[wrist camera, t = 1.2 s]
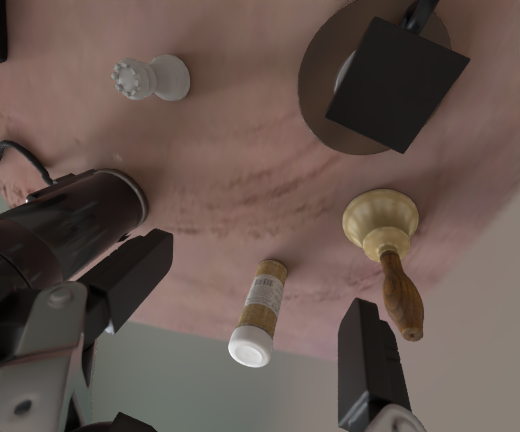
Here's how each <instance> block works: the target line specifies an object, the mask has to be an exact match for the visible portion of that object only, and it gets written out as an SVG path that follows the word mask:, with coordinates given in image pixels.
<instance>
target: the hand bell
mask: <svg viewBox="0 0 520 432" xmlns="http://www.w3.org/2000/svg"><path fill="white" fill-rule="evenodd" d="M418 222H419V213H418V210H417V207H416V205H415V204H414V202H413V201H412V200H411V199H410V198H409V197H407V196H406V195H404V194H403V193H400V192H398V191H395V190H389V189H376V190H371V191H368V192H365V193H363V194H361V195H359V196H357V197H356V198H355V199H353V200H352V201H351V202H350V203H349V205H348V206H347V207H346V209H345V211H344V214H343V218H342V226H343V230H344V232H345V234H346V236H347V237H348V238H349V240H350V241H352V242H353V243H354V244H355V245H357V246H359V247H361V248H363V250H364V252H365V254H366V255H367V256H368V257H369V258H370V259H372V260H374V261H376V262H379V263H381V264H382V267H383V270H384V274H385V278H384V282H383V299H384V304H385V307H386V310H387V312H388V314H389V316H390V318H391V319H392V321H393V322H394V324H395V325H396V326H397V328H398V329H399V331H400V333H401V335H402V337H403V338H404V339H406V340H408V341H413V342H415V341H419V340H420V339H421V338H422V337H423V320H424V307H423V303H422V300H421V297H420V295H419V292H418V290H417V288H416V287H415V285H414V284H413V282H412V281H411V280H410V279H409V278H408V277H407V276H406V274H405V273H404V271H403V269H402V265H401V261H400V259H402V258H403V257H404V256H405V255H406V254H407V253H408V251H409V249H410V238H411V237H412V236H413V234H414V233H415V231H416V229H417V226H418Z"/></svg>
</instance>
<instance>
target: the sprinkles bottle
mask: <svg viewBox="0 0 520 432" xmlns="http://www.w3.org/2000/svg"><path fill="white" fill-rule="evenodd" d="M286 277H287V271H286V268H285V267H284V266H283V265H282V264H281V263H279V262H278V261H274V260H265V261H263V262H261V263H260V264H259V265H258V267H257V272H256V275H255V278H254V281H253V283H252V285H251V288H250V290H249V293H248V296H247V299H246V302H245V305H244V308H243V311H242V314H241V317H240V320H239V323H238V325H237V327H236V329H235V330H234V332H233V334H232V337H231V340H230V343H229V352H230V354H231V356H232V357H233V358H234V359H235V360H236V361H238V362H239V363H241V364H244V365H246V366H249V367H262V366H264V365H266V364H267V363H268V362H269V360H270V357H271V353H272V349H273V336H274V331H275V326H276V323H277V319H278V314H279V309H280V304H281V300H282V295H283V290H284V289H283V288H284V284H285V280H286Z"/></svg>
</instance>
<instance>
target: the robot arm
mask: <svg viewBox="0 0 520 432" xmlns="http://www.w3.org/2000/svg"><path fill="white" fill-rule="evenodd" d="M7 146H9V147H12V148H14V149H16V150H17V151H19V152H20V153H21V154H23V155H24V156H25V157H26V158H27V159H28V160H29V161H30V162H31V163H32V164H33V165H34V166H35V168H36V169H37V170H38V171H39V172H40V173H41V174H42V178H43V180H44V181H45V182H46V183H47V184H48V185H49V187H46V188H44V189H41V190H39V191H36V192H34V193H31V194H29V195H28V196H27V197H26V203H25V204H22V205H20V206H18V207H15V208H13V209H11V210H8V211H6V212H4V213H1V214H0V432H157V431H156V430H155V429H154V428H153V427H152V426H150V425H148V424H146V423H144V422H141V421H139V420H137V419H134V418H132V417H130V416H128V415H125V414H123V413H121V412H119V413H118V414H117V416H116V418H115V419H114V421H113V422H98V423H93V424H92V384H93V375H94V366H95V357H96V347H97V338H98V337H99V335H100V334H101V333H102V332H103V331H106V332H108V333H111V334H113V335H114V334H115V333H116V332H117V331H118V330H119V329H120V328H121V326H122V325H123V324H124V323H125V322H126V321H127V319H128V318H129V317H130V316H131V315H132V314H133V312H134V311H135V310H136V309H137V308H138V307H139V305H140V304H141V303H142V302H143V301H144V300H145V298H146V297H147V296H148V295H149V294H150V293H151V292H152V290H153V289H154V288H155V287H156V286H157V285H158V283H159V282H160V281H161V280H162V279H163V278H164V276H165V275H166V274H167V273H168V271H169V269H170V267H171V265H172V260H173V234H171V233H168V232H166V231H163V230H160V229H157V228H155V229H153V230H152V231H150V232H149V233H148V234H147V235H146V236H144V237H143V236H137V237H135V238H132V239H130V240H127V241H126V242H125V243H124V244H122V245H121V246H120V247H118V249H117V250H115V251H113V252H112V253H111V254H110V256H107V257H106V258H104V259H103V260H102V261H101V262H99V263H98V264H97V265H96V266H94V267H93V268H92V269H90V270H89V271H88V272H87V273H85V274H84V275H83V276H82V277H80V278H79V279H78V280H76V281H69V280H70V279H71V278H73V277H74V276H75V275H76V274H78V273H79V272H80V271H81V270H83V269H84V268H85V267H87V266H88V265H89V264H90V263H92V262H93V261H94V260H95V259H97V258H98V257H99V256H100V255H102V254H103V253H104V252H105V251H107V250H108V249H109V248H110V247H112V246H113V245H114V244H115V243H118V242H121V241H124V240H125V239H126V238H128V237H129V236H130V235H128V236H126V235H127V234H128V233H129V232H131V231H132V230H134V229H135V228H137V227H138V226H139V225H140V224H142V223H143V222H144V221H145V219H146V217H147V212H148V206H147V201H146V198H145V196H144V194H143V192H142V190H141V189H140V188H139V186H138V185H137V184H136V183H135V182H134V181H133V180H132V179H131V178H130V177H128V176H127V175H125V174H124V173H122V172H119V171H117V170H113V169H103V170H100V171H96V170H94V169H91V170H88V171H86V172H83V173H81V174H78V175H74V174H72V173H70V174H68V175H65V176H63V177H60V178H58V179H55V180H52V179H51V178H50V176H49V173H48V171H47V170H46V169H45V168H44V167H43V166H42V165H41V164H40V162H39V161H38V160H37V159H36V158H35V157H34V156H33V155H32V154H31V153H30V152H29V151H28V150H26V149H25V148H24V147H23V146H21V145H19V144H18V143H16V142H13V141H8V140H4V141H1V142H0V160H1V157H2V154H3V151H4V149H5V147H7ZM124 236H125V237H124ZM397 350H398V348H397V343H396V338H395V335H394V333H393V331H392V330H391V328H390V326H389V325H388V323H387V322H386V321H383V320H380V319H379V313H378V307H377V305H376V304H375V303H372V302H369V301H366V300H363V299H360V298H355V299H354V301H353V302H352V304H351V306H350V307H349V309H348V311H347V313H346V314H345V316H344V318H343V320H342V322H341V324H340V327H339V332H338V427H340V428H342V429H345V430H347V431H349V432H427V431H426V430H425V428H424V426H423V425H422V423H421V422H420V421H419V420H418V419H417V417H416V416H415V415H414V414H413V413H412V410H411V407H410V402H409V397H408V393H407V388H406V384H405V379H404V375H403V370H402V366H401V363H400V356H399V352H398V351H397Z"/></svg>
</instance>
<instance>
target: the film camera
mask: <svg viewBox="0 0 520 432" xmlns="http://www.w3.org/2000/svg"><path fill="white" fill-rule="evenodd" d="M6 59H7V36H6V16H5V0H0V63H2V62H5V61H6Z"/></svg>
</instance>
